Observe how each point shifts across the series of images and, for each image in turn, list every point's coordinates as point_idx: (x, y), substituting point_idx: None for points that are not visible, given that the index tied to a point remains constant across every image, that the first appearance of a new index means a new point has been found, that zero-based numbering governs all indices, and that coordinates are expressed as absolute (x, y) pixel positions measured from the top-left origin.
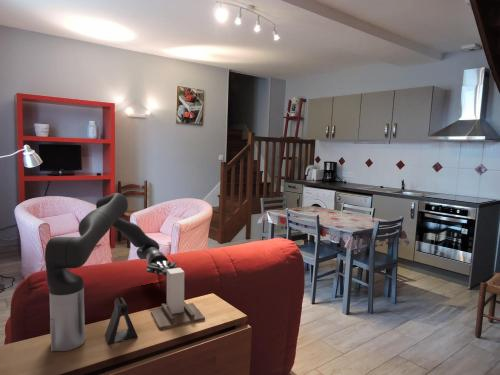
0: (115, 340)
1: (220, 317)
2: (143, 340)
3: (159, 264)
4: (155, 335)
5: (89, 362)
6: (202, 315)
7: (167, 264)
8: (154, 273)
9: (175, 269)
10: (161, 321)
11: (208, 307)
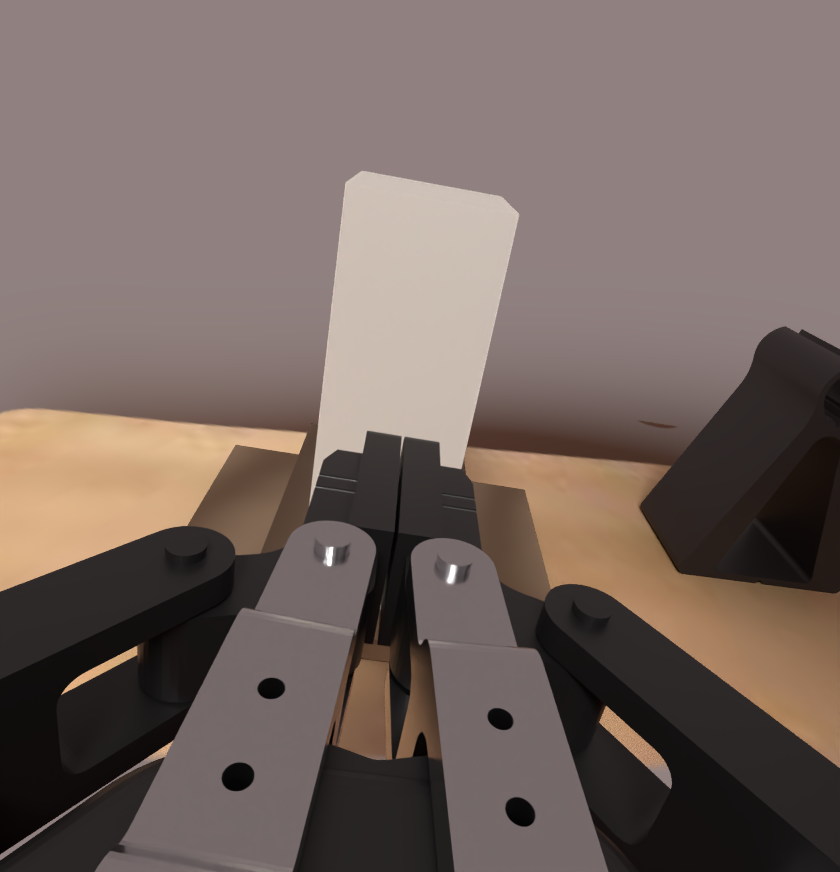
0: (753, 527)
1: (130, 441)
2: (608, 486)
3: (530, 706)
4: (548, 487)
5: None
6: (232, 460)
7: (142, 771)
8: (630, 780)
9: (421, 191)
10: (505, 522)
11: (61, 543)
